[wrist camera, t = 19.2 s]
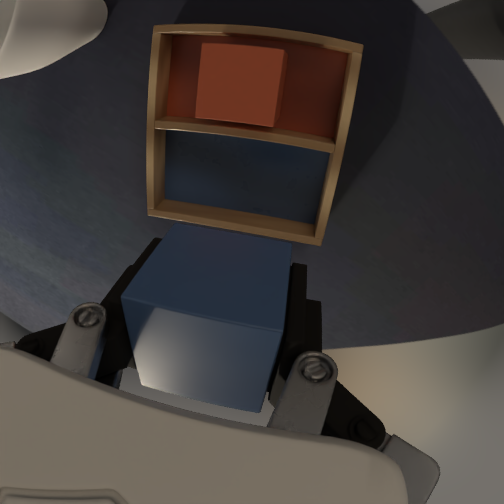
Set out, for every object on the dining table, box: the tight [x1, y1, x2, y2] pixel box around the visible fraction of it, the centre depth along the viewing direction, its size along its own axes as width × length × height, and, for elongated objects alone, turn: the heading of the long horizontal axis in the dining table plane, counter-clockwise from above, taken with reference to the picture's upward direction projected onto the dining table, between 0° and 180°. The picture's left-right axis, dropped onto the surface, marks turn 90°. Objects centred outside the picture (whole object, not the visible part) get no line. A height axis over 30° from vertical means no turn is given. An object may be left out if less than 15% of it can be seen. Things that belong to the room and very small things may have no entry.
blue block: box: [121, 223, 292, 413], centre depth 11 cm, size 4×4×4 cm
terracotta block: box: [195, 43, 288, 127], centre depth 17 cm, size 4×4×4 cm
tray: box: [147, 24, 363, 246], centre depth 20 cm, size 14×13×3 cm
